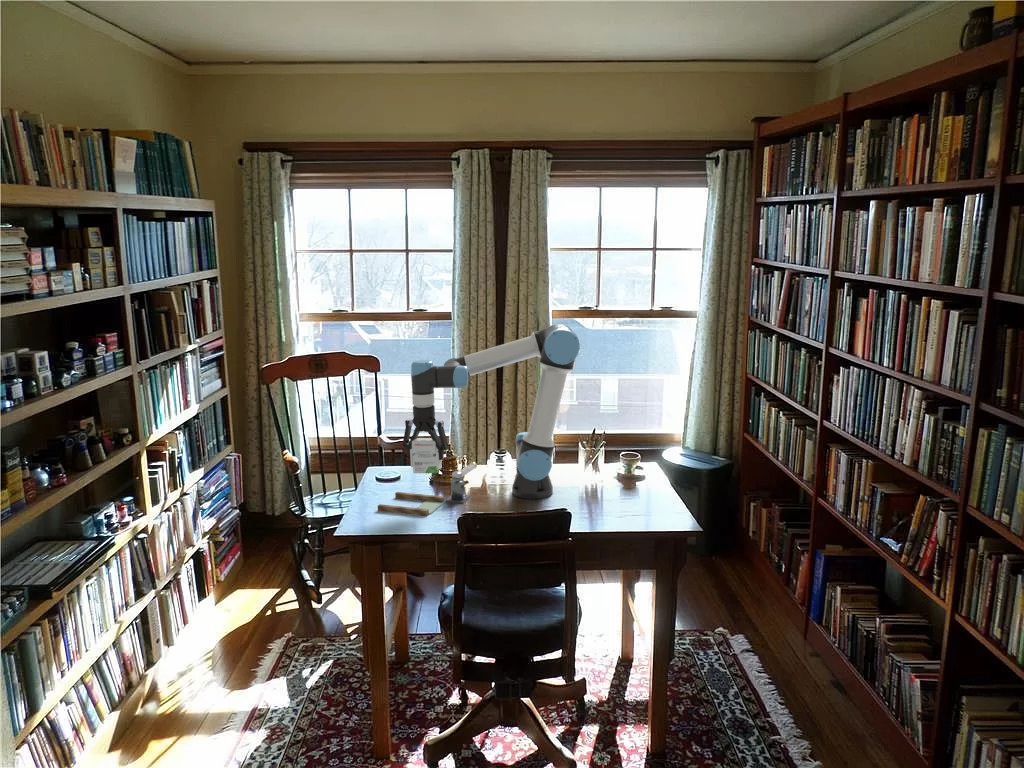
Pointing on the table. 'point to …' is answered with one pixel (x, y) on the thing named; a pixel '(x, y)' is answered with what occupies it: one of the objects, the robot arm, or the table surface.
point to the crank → (463, 471)
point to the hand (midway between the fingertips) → (426, 467)
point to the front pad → (430, 506)
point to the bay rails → (408, 509)
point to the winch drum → (458, 492)
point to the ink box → (424, 455)
